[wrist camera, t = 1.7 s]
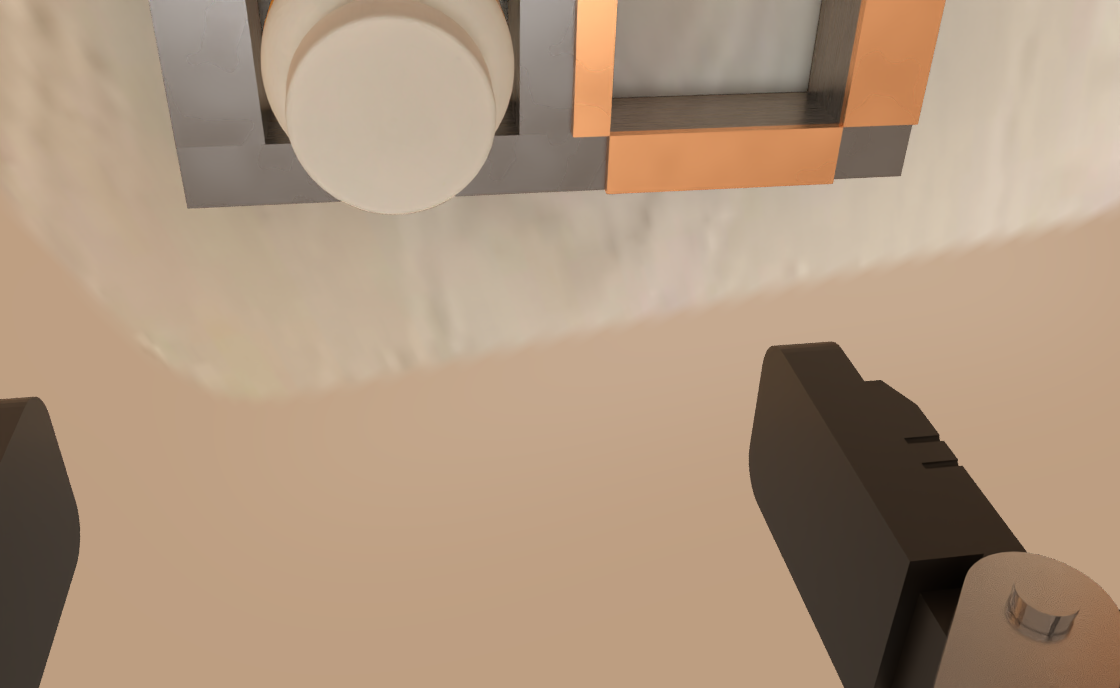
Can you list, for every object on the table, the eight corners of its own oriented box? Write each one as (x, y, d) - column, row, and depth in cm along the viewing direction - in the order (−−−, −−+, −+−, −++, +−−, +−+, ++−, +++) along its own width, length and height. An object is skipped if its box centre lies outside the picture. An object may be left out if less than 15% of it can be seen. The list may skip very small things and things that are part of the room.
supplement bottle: (397, -172, 26) (415, -92, 18) (525, 4, 29) (588, 139, 21) (234, -35, 27) (184, 98, 19) (372, 121, 30) (378, 292, 22)
